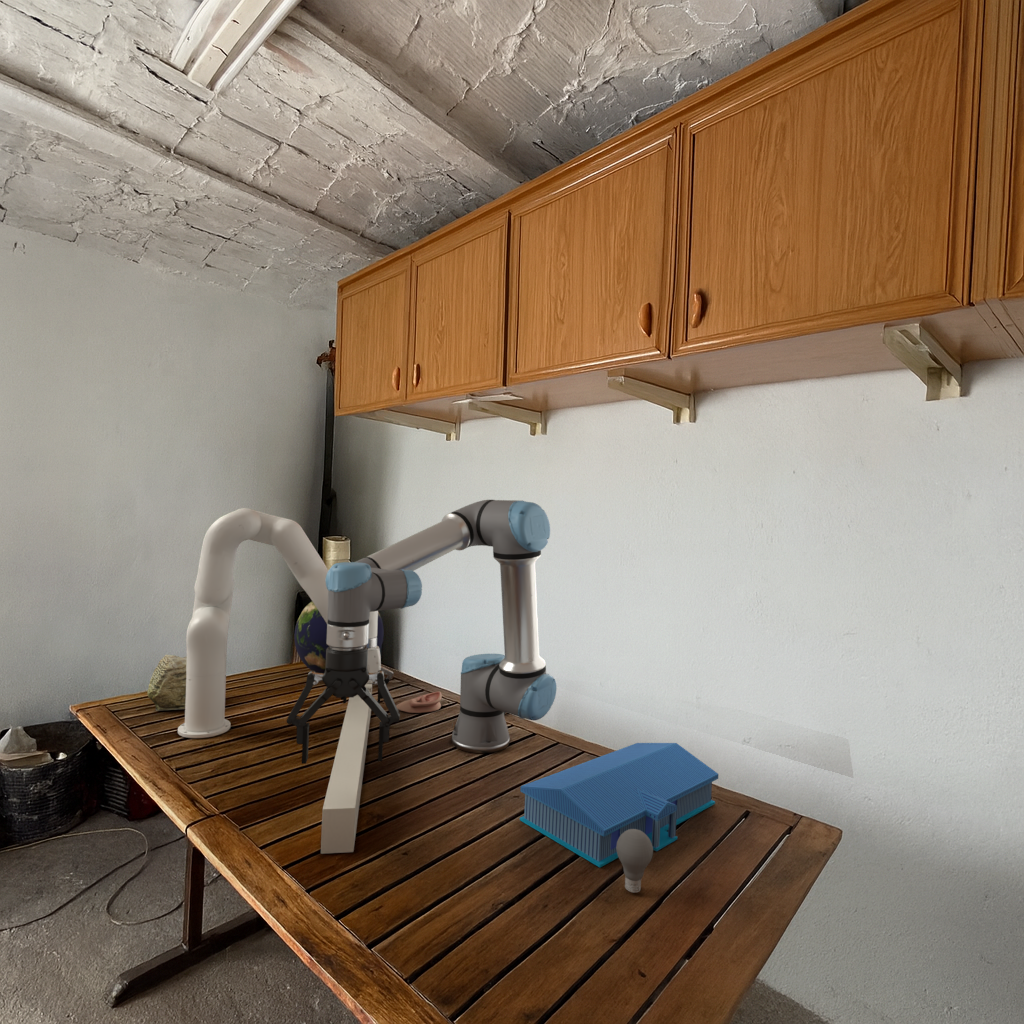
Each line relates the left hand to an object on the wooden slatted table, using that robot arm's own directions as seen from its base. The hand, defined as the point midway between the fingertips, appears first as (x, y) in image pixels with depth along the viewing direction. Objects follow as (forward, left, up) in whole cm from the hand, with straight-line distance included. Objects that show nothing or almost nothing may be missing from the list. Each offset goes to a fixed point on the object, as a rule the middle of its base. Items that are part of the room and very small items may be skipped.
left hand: (362, 701), depth 183 cm
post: (+30, -14, -4) cm, 33 cm away
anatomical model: (0, +18, -4) cm, 19 cm away
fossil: (-31, -42, -4) cm, 53 cm away
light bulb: (+100, +9, -4) cm, 100 cm away
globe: (-41, +7, -4) cm, 42 cm away
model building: (+80, +27, -4) cm, 85 cm away
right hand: (+60, -27, +10) cm, 66 cm away
